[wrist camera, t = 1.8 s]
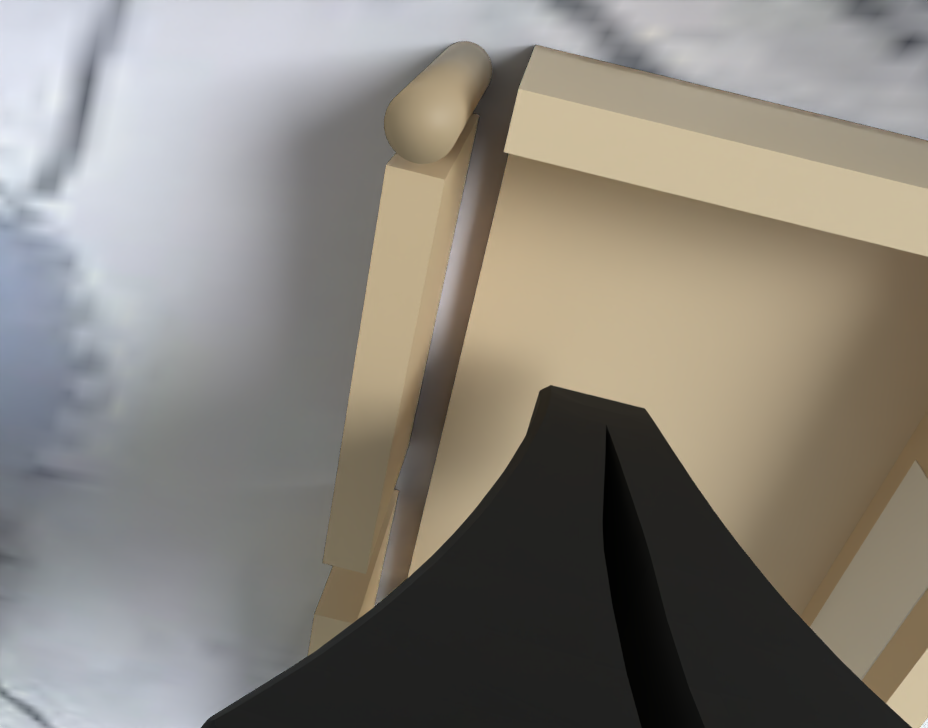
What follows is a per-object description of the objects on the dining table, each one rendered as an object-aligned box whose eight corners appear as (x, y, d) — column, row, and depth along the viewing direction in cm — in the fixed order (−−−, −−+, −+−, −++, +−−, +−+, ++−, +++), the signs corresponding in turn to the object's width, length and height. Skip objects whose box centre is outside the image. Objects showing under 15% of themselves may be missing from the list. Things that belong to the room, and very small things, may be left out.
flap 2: (444, 35, 10) (390, 80, 7) (498, 48, 10) (465, 97, 7) (370, 436, 13) (314, 573, 10) (411, 445, 13) (366, 586, 10)
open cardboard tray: (700, 810, 17) (721, 972, 14) (372, 727, 17) (334, 873, 14) (1101, 182, 10) (1286, 277, 7) (535, 44, 10) (518, 89, 7)
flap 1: (352, 717, 17) (307, 874, 14) (321, 708, 17) (269, 864, 14) (401, 491, 14) (355, 636, 11) (362, 481, 14) (306, 623, 11)
